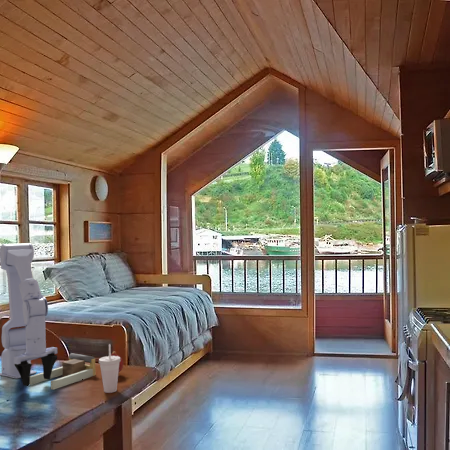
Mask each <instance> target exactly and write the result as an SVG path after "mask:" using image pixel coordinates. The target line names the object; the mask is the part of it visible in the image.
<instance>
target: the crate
mask: <svg viewBox="0 0 450 450" xmlns="http://www.w3.org/2000/svg"><path fill="white" fill-rule="evenodd" d="M85 364H86V362H85V361H84V360H78V359H72V360H69V359H68V360H66V361H65V360H64V361H62V363H61V367H62V366H63V375H62V377H65V376H68V375H71V374H74V373H77V372H80V371H83V370H85Z"/></svg>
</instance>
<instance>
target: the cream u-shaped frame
mask: <svg viewBox="0 0 450 450" xmlns="http://www.w3.org/2000/svg"><path fill="white" fill-rule="evenodd" d="M72 359H78V360H84V361H85V370H83V371H80V372H77V373H74V374H71V375H68V376H65V377H63V366H62V365H61V366H60V367H56V368H53V369H52V372H51V377H50V379H44V375H43V372H39V373H37V374H36V373H35V374H32V375H30V384H29V386H30V385H32V386H33V385H35V384H38V383H39V384H40V383H43V382H45V381H48V380H50V390H56V389H60V388H63V387H65V386H68V385H72V384H73V383H77V382H81V381H83V380H86V379H89V378H91V377H94V376H96V375H97V374H96V358H95V356H91V355H86V354H78V353H74V352H73V353H72V352H71V353H69V355H68V361H69V360H72ZM86 363H89V364H86ZM60 376H62V377H60ZM57 377H59V378H57ZM54 378H57V379H54ZM52 379H54V380H52ZM82 379H83V380H82Z"/></svg>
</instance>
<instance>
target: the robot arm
mask: <svg viewBox="0 0 450 450" xmlns="http://www.w3.org/2000/svg"><path fill="white" fill-rule="evenodd" d="M34 256H35V249H34V245H33V244H32V243H31V242H26V243H8V244H7V243H3V244H1V245H0V269H1V270H4V271H5V272H6V276H7V290H8V305H9V317H10V318H9V320H7V321H6V322H5V323H4V324H3V325H2V328H1V345H2V347H3V348H4V350H3V351H2V352H1V356H0V357H1V358H0V361H1V373H0V376H2V377H7V378H12V379H21V383H22V385H23V386H24V387H30V376H32V375H35V374H36V373H37V370H32V366H33V364H32V362H31V361H34V360H37V359H39V358H40V360H41V363H42V373H43V375H44V379H48V380H51V379H50V377H51V372H52V370H53V369H54V365H55V363H56V361H57V360H58V347H57V346H56V347H54V346H51V347H47V343H46V341H47V339H46V337H47V336H46V334H47V333H46V332H47V331H46V317H47V316H48V313H49V305H48V300H47V298H46V297H45V296H44V294H42V292H41V288H40V286H39V282H38V281H37V279H36V278H35V279H34V277H33V270H32V266H31V264H32V263H33V259H34ZM37 374H38V373H37Z"/></svg>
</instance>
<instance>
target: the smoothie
mask: <svg viewBox="0 0 450 450" xmlns="http://www.w3.org/2000/svg"><path fill="white" fill-rule="evenodd" d="M111 347H112V346H111V343H109V344H108V356H107V355H106V356H102V357H100V358H99V359H98V364H99V365H100V366H99V367H100V373H101V378H102V379H101V381H102V387H103V392H104V393H108V394H112V393H115V392H117V391H118V390H117V389H118V382H119V381H118V379H119V373H120V372H119V362H120V361H121V360H120V357H121V356H120V357H118V356H111V355H112V353H111V350H112V349H111ZM118 372H119V373H118Z"/></svg>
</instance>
